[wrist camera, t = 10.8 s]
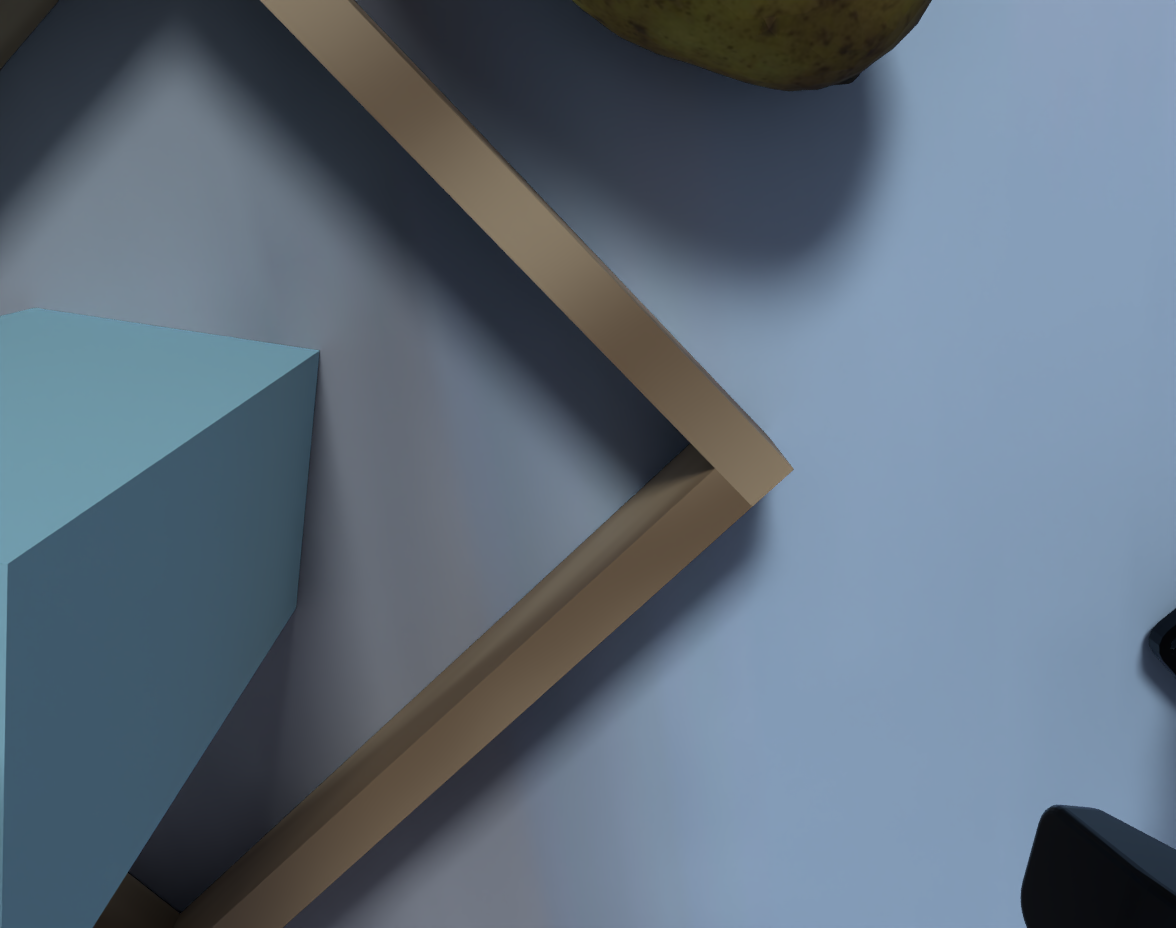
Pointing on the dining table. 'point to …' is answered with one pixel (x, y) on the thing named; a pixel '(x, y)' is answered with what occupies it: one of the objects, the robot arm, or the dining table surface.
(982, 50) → the dining table surface
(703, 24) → the potato
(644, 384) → the light wood flat frame
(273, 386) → the milk carton
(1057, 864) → the robot arm
